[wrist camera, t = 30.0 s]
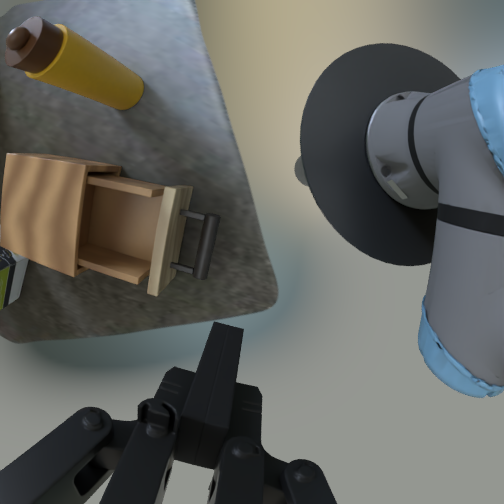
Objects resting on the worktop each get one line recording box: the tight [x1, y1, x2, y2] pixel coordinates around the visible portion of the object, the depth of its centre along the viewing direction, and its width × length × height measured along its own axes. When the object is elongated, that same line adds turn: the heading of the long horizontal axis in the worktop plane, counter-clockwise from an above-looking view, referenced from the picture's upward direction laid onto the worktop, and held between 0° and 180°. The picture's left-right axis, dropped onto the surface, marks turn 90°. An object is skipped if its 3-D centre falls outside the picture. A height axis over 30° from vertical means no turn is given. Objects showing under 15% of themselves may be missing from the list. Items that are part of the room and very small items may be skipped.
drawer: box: [77, 172, 221, 296], centre depth 31 cm, size 18×11×7 cm, turn 76°
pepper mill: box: [5, 16, 144, 110], centre depth 21 cm, size 5×5×22 cm
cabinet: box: [0, 153, 122, 277], centre depth 31 cm, size 14×12×8 cm
